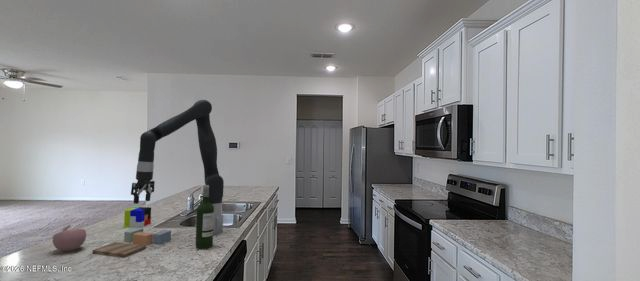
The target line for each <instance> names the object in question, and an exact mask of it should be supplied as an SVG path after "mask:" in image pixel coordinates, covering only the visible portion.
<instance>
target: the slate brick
mask: <svg viewBox="0 0 640 281" xmlns="http://www.w3.org/2000/svg"><path fill="white" fill-rule="evenodd" d="M171 240H172V230H167V229H162V230H161V231H159V232H155V233H153V243H152V245H159V246H160V245H163V244H165V243H167V242H170V241H171Z"/></svg>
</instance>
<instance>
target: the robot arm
mask: <svg viewBox="0 0 640 281" xmlns="http://www.w3.org/2000/svg"><path fill="white" fill-rule="evenodd" d="M212 111H213V106H212V103H211V102H210V101H208V100H206V99H198V100H197V101H195V103H194V104H193V105H192V106H191V107H190V108H188V109H186V110H184V111H182V112H181V113H179V114H177V115H174V116H173V117H170V118H169V119H166V120H164V121H162V122H160V123H159V124H158V125H156V126H155V127H153V128H150V129H149V130H147V131H144V132H143V133H141V135H140V137H139V138H140V139H139V140H140V141H139V152H138V158H137V165H136V172H135V173H136V174H135V179H136V181H137V182H132V183H131V188H130V189H131V190H130V195H132V196H133V204H139V203H140V195H141V194H142V193H143V191H144V192H145V193H146V194H145V198H144V199H145V200H144V201H145V202H150V201H151V196H152V193H154V192H155V184H156V182H155V180H153V178H154V167H155V165H154V161H155V149H156V143H157V142H158V141H160V140H162V139H163V138H165V137H168V136H169V135H171V134H172V133H173V134H174V133H175V132H176V131H178V130H179V129H182V128H183V127H185V126H186V125H188V124H189V123H191V122H193V121H195V123H196V127H197V128H196V129H197V139H198V146H199V147H198V148H199V152H200V156H201V157H200V158H201V161H202V166H203V171H204V173H203V174H204V175H203V176H204V185H209V202H210V203H211V204H212V205H213V207H214V220H213V236H215V235H217V236H218V235H219V234H221V233H223V230H224V228H223V227H224V226H223V225H224V215H223V214H222V212H223V211H222V210H223V198H224V189H225V188H224V184H225V183H224V178H223V177H222V176H221V175H220V172H219V168H218V163H217V162H218V146H217V141H216V137H215V133H214V131H213V128H212V125H211V119H210V118H211V117H210V116H211V115H210V114H211V112H212Z"/></svg>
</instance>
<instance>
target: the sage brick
mask: <svg viewBox="0 0 640 281" xmlns="http://www.w3.org/2000/svg"><path fill="white" fill-rule="evenodd" d="M138 232H144V227H142V228H132V229H129V230H125V231H124V236H123V237H124V238H123V241H124V242H123V243H133V234H135V233H138Z"/></svg>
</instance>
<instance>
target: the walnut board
mask: <svg viewBox="0 0 640 281" xmlns="http://www.w3.org/2000/svg"><path fill="white" fill-rule="evenodd" d="M146 247H147V246H145V245H136V244H133V243H128V242H113V243H109V244H106V245H104V246H100V247H98V248H95V249H92V254H94V255H100V256H101V255H102V256H110V257H117V258H124V259H125V258H127V257H129V256H132V255H134V254H137V253H139V252H141V251H144V250H146Z"/></svg>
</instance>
